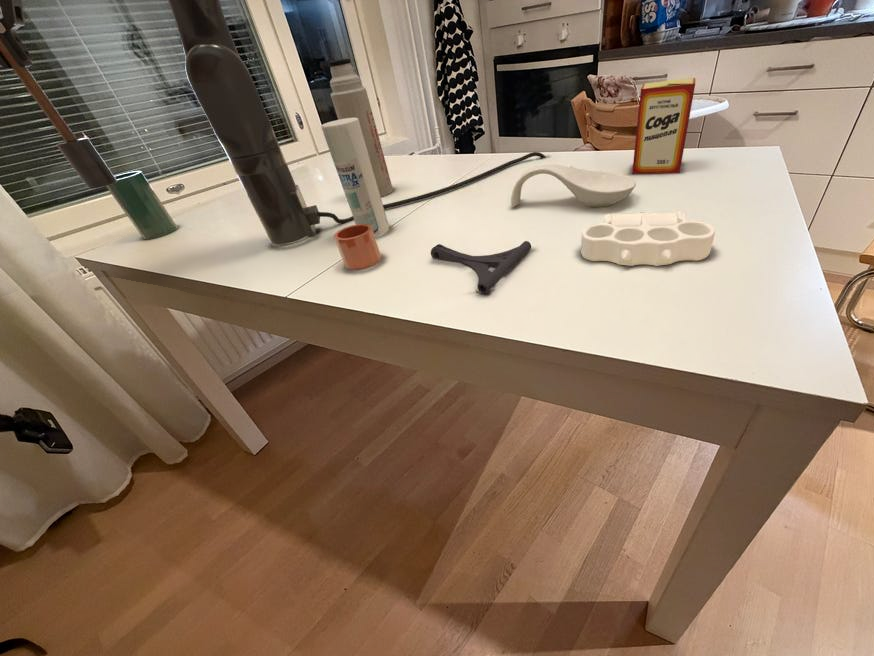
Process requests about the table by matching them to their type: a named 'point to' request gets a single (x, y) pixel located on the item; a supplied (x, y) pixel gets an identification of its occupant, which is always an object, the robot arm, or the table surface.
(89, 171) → the long wooden handle
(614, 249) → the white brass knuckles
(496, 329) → the table surface
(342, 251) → the holder
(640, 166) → the baking soda box
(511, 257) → the bracket
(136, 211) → the cup
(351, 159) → the spray can
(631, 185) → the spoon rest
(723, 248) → the table surface
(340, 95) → the thermos bottle
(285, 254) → the table surface
